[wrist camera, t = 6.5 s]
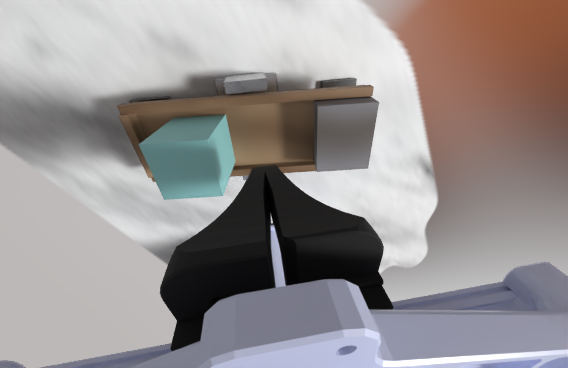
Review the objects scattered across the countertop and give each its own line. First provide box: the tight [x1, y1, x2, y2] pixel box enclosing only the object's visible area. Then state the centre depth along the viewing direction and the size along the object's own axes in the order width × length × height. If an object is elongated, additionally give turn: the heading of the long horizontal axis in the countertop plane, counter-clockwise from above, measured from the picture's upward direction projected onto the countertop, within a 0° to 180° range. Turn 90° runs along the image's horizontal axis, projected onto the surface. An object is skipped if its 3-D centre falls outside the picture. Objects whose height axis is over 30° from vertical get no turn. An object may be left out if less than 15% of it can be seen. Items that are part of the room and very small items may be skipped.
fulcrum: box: [129, 73, 357, 180], centre depth 19 cm, size 8×19×3 cm, turn 94°
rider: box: [139, 114, 235, 200], centre depth 16 cm, size 4×4×5 cm
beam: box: [117, 85, 379, 182], centre depth 18 cm, size 6×18×4 cm, turn 94°
